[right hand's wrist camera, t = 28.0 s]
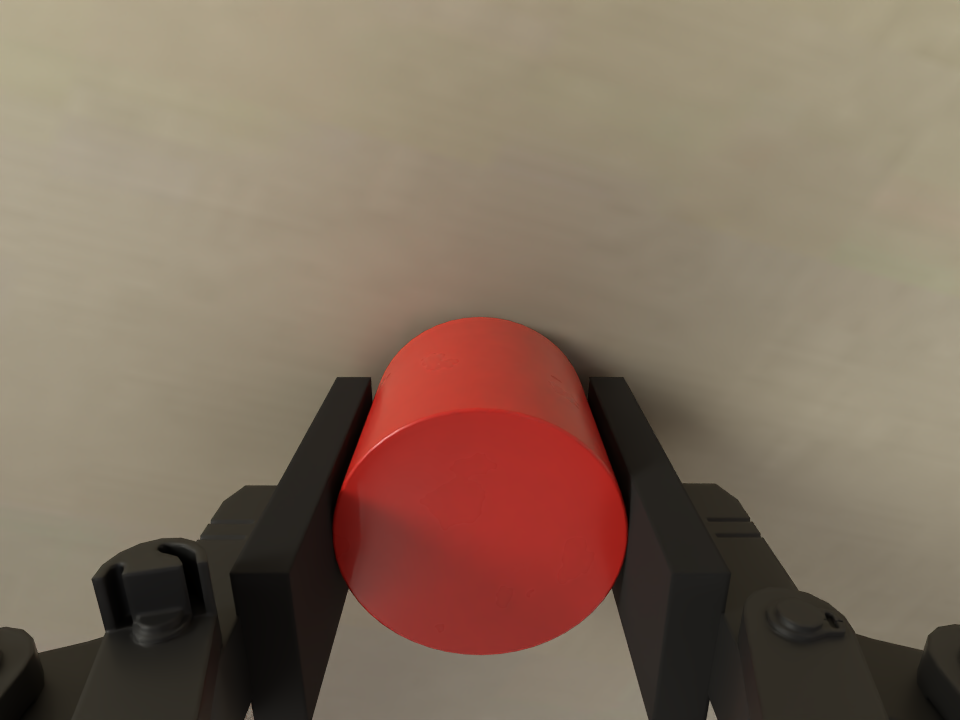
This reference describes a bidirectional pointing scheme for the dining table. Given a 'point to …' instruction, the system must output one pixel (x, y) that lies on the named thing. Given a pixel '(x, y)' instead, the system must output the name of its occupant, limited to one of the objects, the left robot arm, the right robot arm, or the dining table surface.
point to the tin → (480, 494)
